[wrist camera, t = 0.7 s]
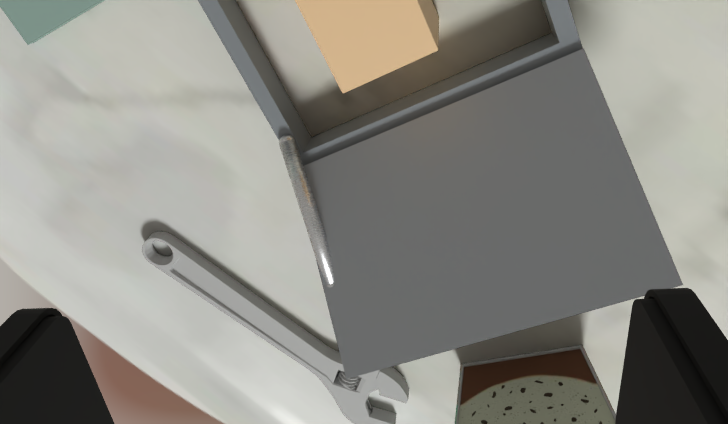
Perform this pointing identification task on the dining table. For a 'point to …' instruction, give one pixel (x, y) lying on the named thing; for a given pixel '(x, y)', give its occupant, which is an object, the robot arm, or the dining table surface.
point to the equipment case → (465, 200)
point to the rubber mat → (43, 15)
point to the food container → (533, 390)
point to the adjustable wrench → (279, 331)
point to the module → (371, 35)
